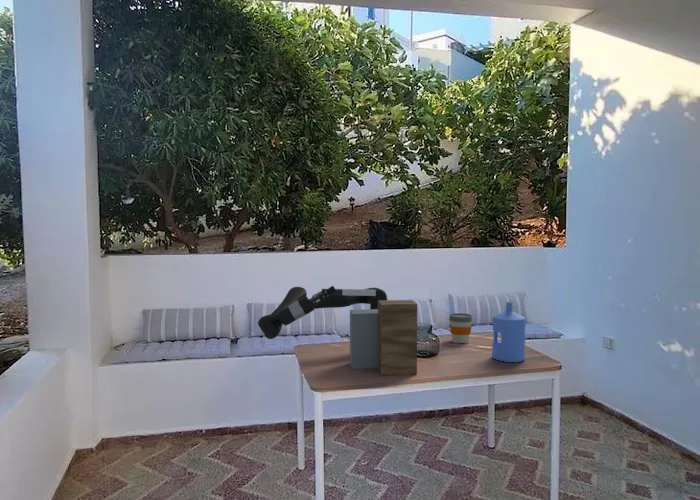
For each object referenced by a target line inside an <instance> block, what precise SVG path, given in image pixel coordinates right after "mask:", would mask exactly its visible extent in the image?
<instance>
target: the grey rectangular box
mask: <svg viewBox="0 0 700 500" xmlns="http://www.w3.org/2000/svg"><path fill="white" fill-rule="evenodd" d="M349 364H350V367H351V369H352V370H361V369H362V370H365V369H378V309H370V308H369V309H349Z"/></svg>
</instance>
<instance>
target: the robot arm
mask: <svg viewBox="0 0 700 500" xmlns="http://www.w3.org/2000/svg"><path fill="white" fill-rule="evenodd" d="M327 289H329V290H327V291H325V292H323V293H322V290H320V291H318V292H316V293H315V294H312V296H311V297H310V298H309V297H308V295H307V294H308V293H307V290H306V289H305V288H304V287H301V286H294V287H291V288H290V289H289V290H288V292H287V294H286V295H285V297H284V298H283V300H282V301H281V303H280V304H279V305H278V306H277V307H276V308H275V309H274V310H273V312H272V313H270V314H267V315H264V316H263V315H262V316H261V317H260V318H259V319H258V321H257V325H258V327H259V329H260V330H261V332H262V333H263V335H264V337H265V338H266V339H269V340H272V339H275V338H276V337H278V335H279V334H280V332H281V330H282V328H283V325H284V326H288V325H291V324H292V323H294V322H295V321H297V320H299V319H301V318H303V317H305V316H306V315H308V314H311V312H314V310H317V309H328V308H329V309H330V308H332V309H333V308H334V309H335V308H338V309H339V308H346V307H350V306H352V305H357V304H363V305H365V304H366V305H370V306H369V307H370V308H369V309H378V301H383V300H388V295H387V293H386V291H385V290H384V289H381V288H379V287H368V288H367V289H368V290H376V296H354V295H330V294H332V293H334V292H335V291H336V290H335V289H336V288H335V286H334V285H331V286H330V287H327Z"/></svg>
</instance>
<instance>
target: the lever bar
mask: <svg viewBox="0 0 700 500" xmlns="http://www.w3.org/2000/svg"><path fill="white" fill-rule="evenodd" d="M327 290H329V289H328V288H321V291H322V293H323V292H325V291H327ZM335 290H336V291H335V292H334V293H332V294H330V295H354V296H376V290H368V288H362V289H358V288H357V289H356V288H355V289H353V288H335Z"/></svg>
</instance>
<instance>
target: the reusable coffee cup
mask: <svg viewBox="0 0 700 500" xmlns="http://www.w3.org/2000/svg"><path fill="white" fill-rule="evenodd" d="M472 317H473V316H472V315H471V314H469V313H463V312H461V313H459V312H458V313H457V312H455V313H451V314H449V330H450V333H451V341H453V343H454V342H456V343H455V344H459V343H465V344H468V343H469V342H470V334H471V332H472V321H473V318H472ZM467 342H468V343H467Z"/></svg>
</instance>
